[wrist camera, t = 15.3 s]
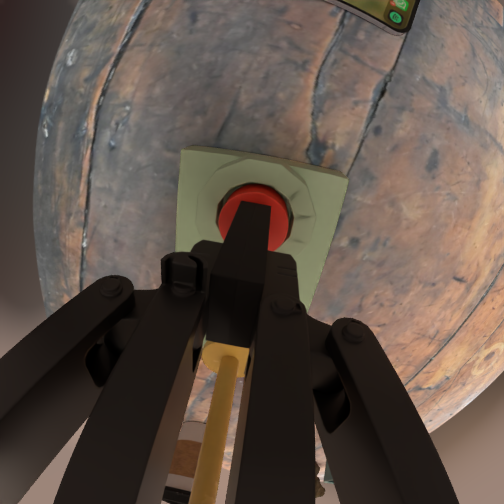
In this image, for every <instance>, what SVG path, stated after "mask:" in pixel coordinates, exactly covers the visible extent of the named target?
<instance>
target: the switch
mask: <svg viewBox="0 0 504 504" xmlns="http://www.w3.org/2000/svg"><path fill="white" fill-rule="evenodd" d="M241 201H246V202H252V203H258V204H263V205H269V206H271V217H270V229H269V240H268V250H269V251H275V250H276V249H277V248H278V247H280V245H281V244H282V243H283V242H284V240H285V238H286V236H287V233H288V213H287V207H286V204H285V202H284V200H283V198H282V197H281V196H280V194H279V193H277V192H276V191H275V190H274V189H272V188H270V187H268V186H265V185H261V184H248V185H245V186H242V187H240V188H238V189H237V190H235V191H234V192H233V193H232V194H231V195H230V197H229V198H228V200H227V201H226V203H225V205H224V206H223V208H222V210H221V212H220V215H219V230H220V234H221V236H222V238H223V240H224V239H225V237H226V235H227V232H228V230H229V228H230V225H231V223H232V220H233V218H234V216H235V213H236V211H237V209H238V207H239V204H240V202H241Z"/></svg>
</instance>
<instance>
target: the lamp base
mask: <svg viewBox="0 0 504 504" xmlns="http://www.w3.org/2000/svg"><path fill="white" fill-rule="evenodd" d="M348 183H349V178H347V177H346V176H345V175H344V174H343V173H342V172H341V171H337V170H333V169H328V168H324V167H320V166H316V165H311V164H307V163H302V162H297V161H293V160H288V159H282V158H277V157H272V156H266V155H261V154H255V153H249V152H242V151H235V150H228V149H221V148H213V147H205V146H196V145H191V146H189V147H186V148H183V149H181V157H180V169H179V182H178V197H177V216H176V245H175V252H180V251H184V252H190V251H191V249H192V248H193V246H194V244H196V243H198V242H199V241H201V240H203V239H204V240H209V241H215V242H220V243H223V242H224V240H223V238H222V236H221V234H220V230H219V215H220V212H221V210H222V208H223V206H224V205H225V203H226V201H227V200H228V198H229V197H230V195H231V194H232V193H233V192H234V191H235V190H237V189H238V188H240V187H242V186H245V185H248V184H261V185H265V186H268V187H270V188H272V189H274V190H275V191H276V192H277V193H279V194H280V196H281V197H282V198H283V200H284V202H285V204H286V207H287V213H288V233H287V236H286V238H285V240H284V242H283V243H282V244H281V245H280V247H278V248H277V249H276V250H275V252H280V253H285V254H291V256H292V257H293V258H294V260H295V261H296V264H297V274H298V277H297V278H298V285H299V297H300V301H301V302H302V303H303V304H304V305H305V308H306V310H307V312H308V309H309V307H310V304H311V301H312V299H313V296H314V293H315V290H316V287H317V284H318V281H319V279H320V276H321V273H322V270H323V267H324V264H325V261H326V258H327V254H328V251H329V248H330V245H331V242H332V239H333V235H334V232H335V229H336V225H337V222H338V219H339V215H340V212H341V208H342V205H343V201H344V197H345V194H346V190H347V186H348ZM205 338H206V334H205V337H204V340H203V346H204V344H205V343H206V341H207V340H205Z"/></svg>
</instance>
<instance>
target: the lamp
mask: <svg viewBox="0 0 504 504" xmlns="http://www.w3.org/2000/svg"><path fill="white" fill-rule="evenodd" d="M248 354H249V349H248V348H243V347H237V346H232V345H226V344H221V343H216V342H212V341H206V343H205V344H204V347H203V350H202V355H201V356H202V360H203V362H204V364H205V365H206V366H207V367H208V368H209V369H210V370H212V371H213V372H215V373H217V378H216V382H215V387H214V391H213V396H212V400H211V404H210V409H209V413H208V418H207V422H206V427H205V431H204V436H203V440H202V445H201V449H200V454H199V458H198V463H197V467H196V472H195V476H194V481H193V485H192V490H191V495H190V499H189V504H215V502H216V496H217V490H218V484H219V479H220V473H221V467H222V461H223V456H224V450H225V444H226V438H227V432H228V426H229V420H230V415H231V409H232V403H233V397H234V391H235V385H236V379H237V377H245V374H244V371H245V366H246V362H247V358H248Z"/></svg>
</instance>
